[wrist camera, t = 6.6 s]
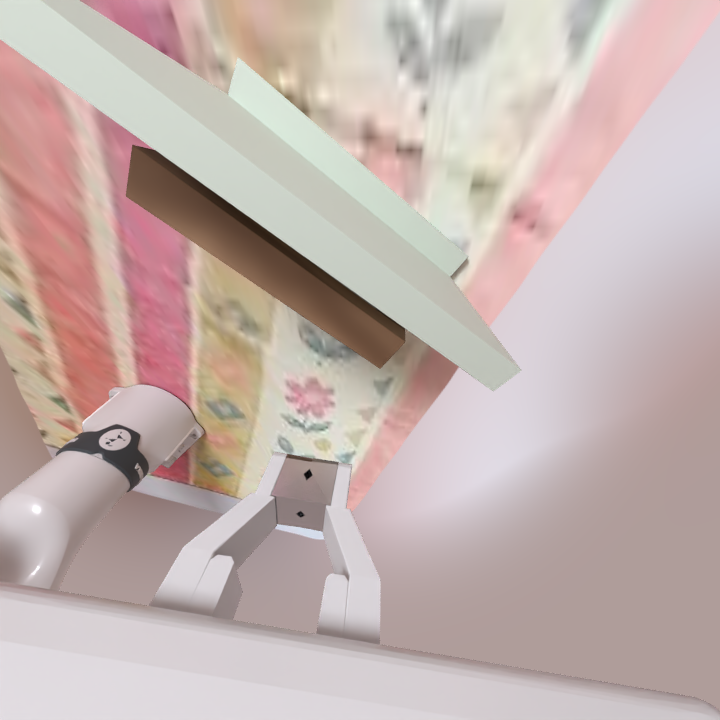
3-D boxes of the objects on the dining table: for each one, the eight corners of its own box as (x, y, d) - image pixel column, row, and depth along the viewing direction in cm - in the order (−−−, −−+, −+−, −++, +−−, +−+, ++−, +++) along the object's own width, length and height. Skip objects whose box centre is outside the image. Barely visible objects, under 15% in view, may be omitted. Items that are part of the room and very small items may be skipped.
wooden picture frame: (387, 308, 32) (380, 368, 20) (242, 200, 28) (125, 196, 16) (403, 289, 31) (405, 341, 19) (252, 172, 27) (132, 145, 15)
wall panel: (422, 303, 36) (457, 417, 17) (218, 148, 29) (-92, 60, 10) (466, 254, 32) (571, 333, 13) (243, 61, 25) (-182, -331, 6)
